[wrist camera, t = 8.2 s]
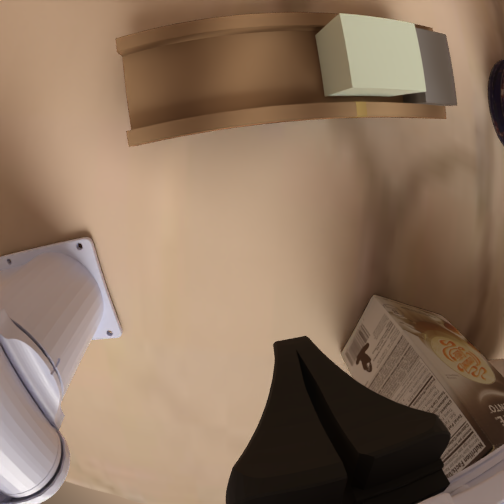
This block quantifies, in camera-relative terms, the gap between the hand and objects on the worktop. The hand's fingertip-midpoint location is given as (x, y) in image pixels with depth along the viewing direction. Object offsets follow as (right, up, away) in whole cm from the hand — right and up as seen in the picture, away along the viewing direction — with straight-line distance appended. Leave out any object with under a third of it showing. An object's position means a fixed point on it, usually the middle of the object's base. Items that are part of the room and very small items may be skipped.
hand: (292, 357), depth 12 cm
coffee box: (+11, -3, +13) cm, 17 cm away
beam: (0, +15, +5) cm, 16 cm away
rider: (+4, +14, +2) cm, 15 cm away
